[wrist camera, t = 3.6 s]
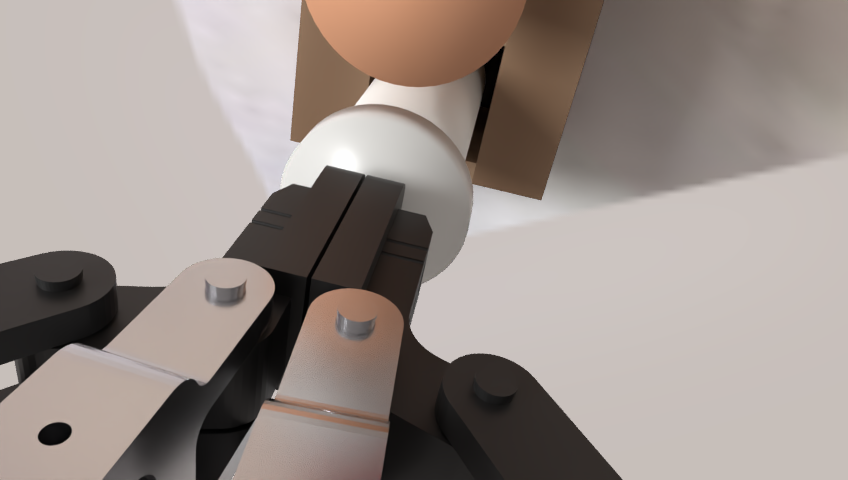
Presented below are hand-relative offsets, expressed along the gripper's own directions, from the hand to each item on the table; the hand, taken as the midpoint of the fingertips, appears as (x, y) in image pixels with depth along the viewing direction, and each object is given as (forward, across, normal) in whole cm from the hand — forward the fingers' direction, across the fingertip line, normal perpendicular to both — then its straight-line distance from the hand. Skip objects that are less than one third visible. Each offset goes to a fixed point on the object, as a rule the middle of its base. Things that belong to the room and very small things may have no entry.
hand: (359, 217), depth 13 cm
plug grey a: (+9, 0, 0) cm, 9 cm away
